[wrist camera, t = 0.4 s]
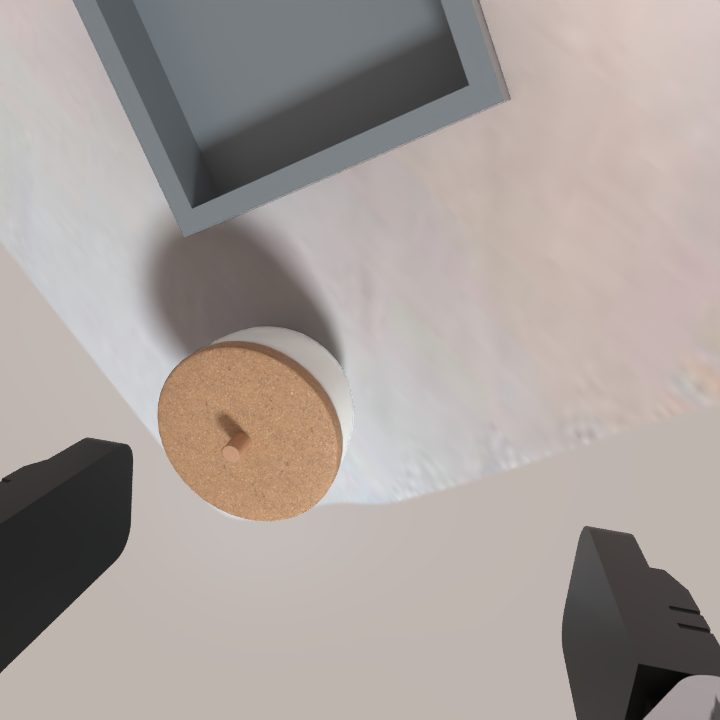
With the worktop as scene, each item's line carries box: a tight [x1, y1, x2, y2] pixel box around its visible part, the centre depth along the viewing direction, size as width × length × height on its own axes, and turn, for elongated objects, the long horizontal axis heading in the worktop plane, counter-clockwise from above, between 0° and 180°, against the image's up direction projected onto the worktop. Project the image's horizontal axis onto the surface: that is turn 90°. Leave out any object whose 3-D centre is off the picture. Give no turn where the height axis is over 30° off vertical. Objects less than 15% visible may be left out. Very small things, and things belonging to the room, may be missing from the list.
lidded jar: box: [158, 326, 354, 521], centre depth 39 cm, size 11×11×9 cm
